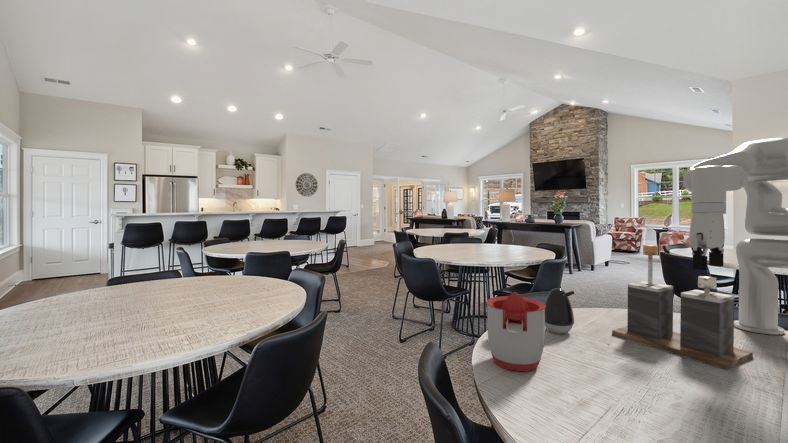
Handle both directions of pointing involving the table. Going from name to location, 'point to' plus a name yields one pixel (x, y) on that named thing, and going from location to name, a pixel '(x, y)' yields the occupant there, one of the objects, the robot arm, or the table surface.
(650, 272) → the copper plunger
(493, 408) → the table surface
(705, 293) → the ivory plunger
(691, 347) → the press station
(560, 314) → the pump dispenser
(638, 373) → the table surface
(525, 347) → the citrus juicer
